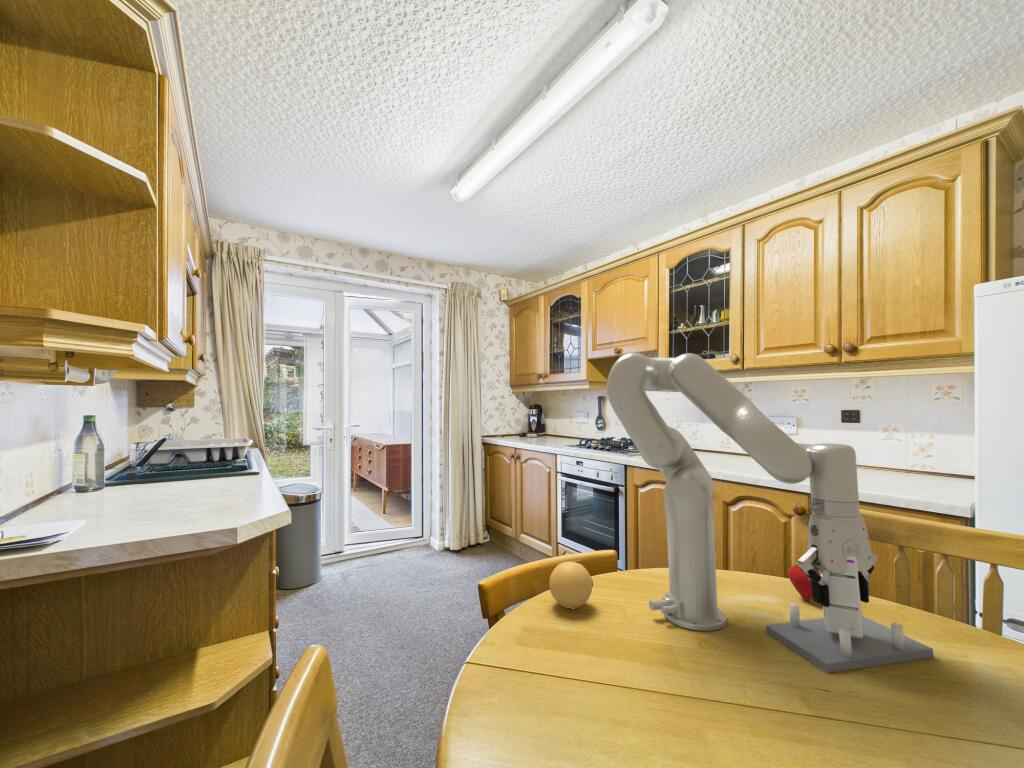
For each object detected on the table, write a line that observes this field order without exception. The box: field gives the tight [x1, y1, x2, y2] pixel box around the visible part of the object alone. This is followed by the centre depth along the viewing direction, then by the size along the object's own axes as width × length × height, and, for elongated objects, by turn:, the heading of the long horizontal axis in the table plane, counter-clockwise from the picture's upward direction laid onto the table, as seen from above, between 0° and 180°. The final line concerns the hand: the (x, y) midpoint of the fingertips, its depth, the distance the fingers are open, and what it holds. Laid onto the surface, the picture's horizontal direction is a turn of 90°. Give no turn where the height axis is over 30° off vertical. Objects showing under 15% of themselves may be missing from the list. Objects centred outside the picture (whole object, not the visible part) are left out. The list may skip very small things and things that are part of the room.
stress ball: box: [548, 560, 594, 609], centre depth 102 cm, size 10×10×10 cm
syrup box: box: [819, 555, 863, 638], centre depth 84 cm, size 6×6×14 cm
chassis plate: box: [765, 602, 934, 674], centre depth 84 cm, size 22×14×6 cm, turn 100°
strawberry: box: [787, 561, 821, 602], centre depth 103 cm, size 6×8×10 cm
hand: (840, 601), depth 84 cm, fingers closed on syrup box, 8 cm apart
